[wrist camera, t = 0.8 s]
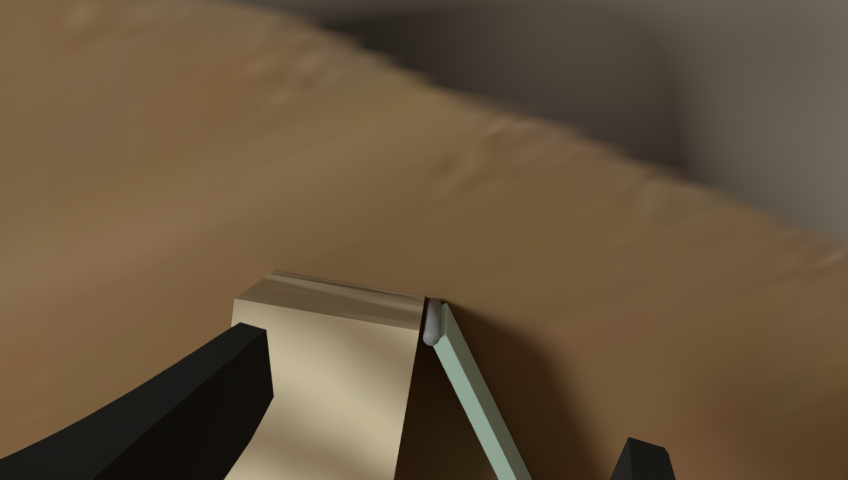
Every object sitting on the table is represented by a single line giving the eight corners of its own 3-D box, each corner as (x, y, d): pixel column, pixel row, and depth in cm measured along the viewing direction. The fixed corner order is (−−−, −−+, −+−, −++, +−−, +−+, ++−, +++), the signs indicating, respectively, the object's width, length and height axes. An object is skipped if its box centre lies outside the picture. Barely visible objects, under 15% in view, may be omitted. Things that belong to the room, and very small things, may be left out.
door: (566, 512, 35) (589, 585, 29) (534, 524, 36) (551, 599, 30) (458, 286, 33) (460, 316, 28) (425, 301, 34) (420, 333, 28)
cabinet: (383, 538, 37) (369, 621, 30) (243, 513, 37) (200, 590, 30) (424, 296, 34) (419, 330, 28) (274, 270, 34) (234, 298, 28)
